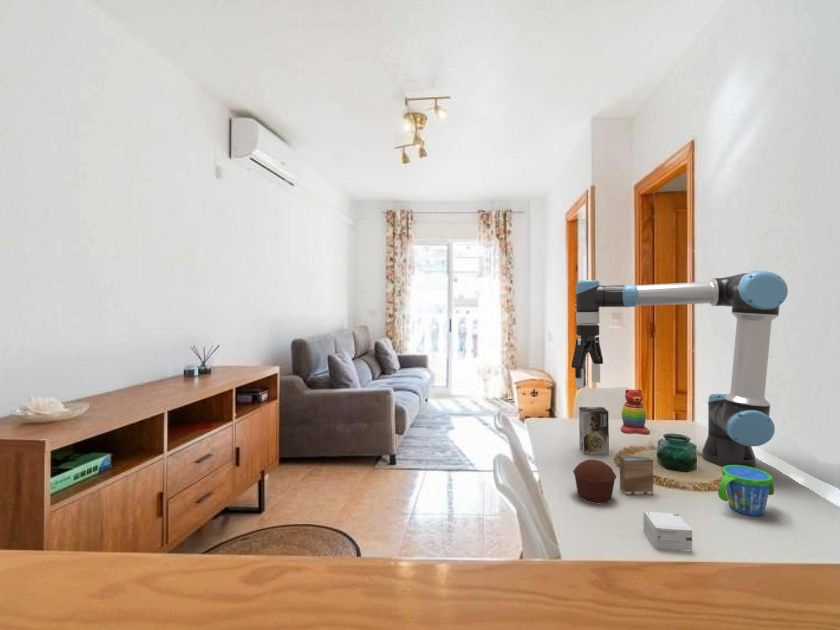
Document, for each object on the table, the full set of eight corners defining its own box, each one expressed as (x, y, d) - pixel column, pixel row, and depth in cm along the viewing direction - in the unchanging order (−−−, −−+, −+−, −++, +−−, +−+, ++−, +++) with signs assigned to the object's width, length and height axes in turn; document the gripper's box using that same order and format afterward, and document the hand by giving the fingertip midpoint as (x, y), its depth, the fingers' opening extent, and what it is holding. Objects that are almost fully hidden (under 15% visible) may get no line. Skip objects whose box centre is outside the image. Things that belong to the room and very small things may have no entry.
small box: (654, 549, 96) (655, 527, 96) (642, 531, 104) (642, 510, 104) (692, 552, 95) (693, 529, 95) (677, 533, 103) (677, 512, 102)
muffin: (596, 509, 115) (595, 472, 114) (564, 493, 125) (564, 459, 124) (625, 499, 120) (625, 464, 120) (593, 485, 130) (592, 452, 130)
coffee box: (603, 449, 162) (603, 406, 161) (609, 455, 155) (609, 411, 155) (578, 448, 163) (578, 406, 162) (583, 454, 156) (583, 410, 156)
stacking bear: (623, 433, 181) (623, 391, 180) (617, 426, 191) (617, 387, 190) (651, 434, 178) (651, 392, 178) (644, 428, 188) (644, 387, 188)
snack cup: (735, 521, 108) (735, 481, 107) (703, 502, 118) (704, 466, 118) (792, 518, 109) (792, 478, 109) (755, 499, 120) (756, 463, 119)
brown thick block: (653, 494, 123) (653, 460, 123) (625, 494, 123) (625, 460, 123) (646, 489, 127) (646, 455, 126) (619, 489, 127) (619, 456, 126)
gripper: (592, 322, 161) (592, 378, 162) (560, 325, 144) (561, 388, 144) (612, 323, 156) (612, 381, 156) (582, 326, 138) (582, 391, 139)
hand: (587, 384), depth 150 cm, fingers open, 13 cm apart
